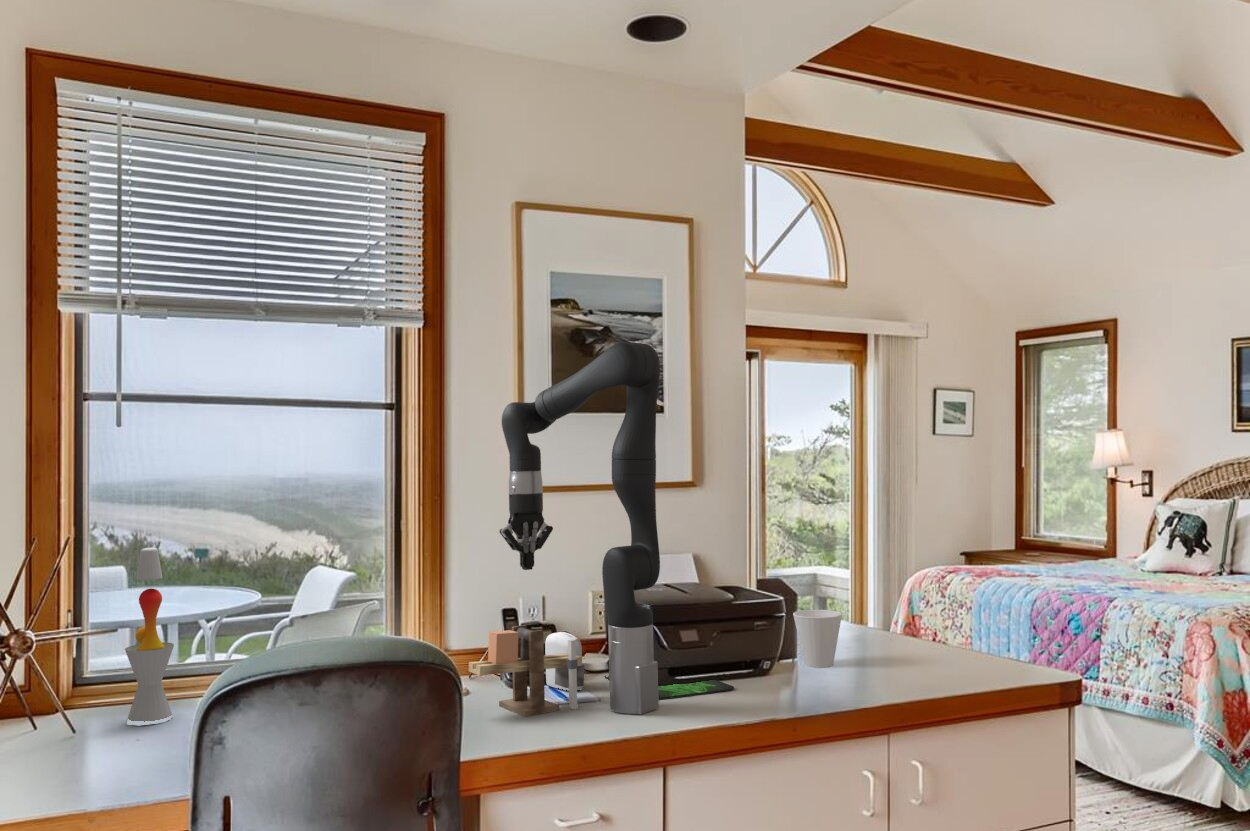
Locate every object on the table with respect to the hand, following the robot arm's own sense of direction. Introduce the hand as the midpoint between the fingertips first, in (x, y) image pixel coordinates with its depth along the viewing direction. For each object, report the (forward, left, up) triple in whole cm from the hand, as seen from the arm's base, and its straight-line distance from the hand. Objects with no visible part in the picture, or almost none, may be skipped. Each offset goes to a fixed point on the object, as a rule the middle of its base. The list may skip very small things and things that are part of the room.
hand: (527, 569), depth 220 cm
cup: (-39, -60, -27) cm, 76 cm away
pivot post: (-10, +10, -27) cm, 30 cm away
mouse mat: (-20, -24, -28) cm, 42 cm away
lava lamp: (+47, +62, -27) cm, 82 cm away
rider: (-8, +16, -17) cm, 24 cm away
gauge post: (-18, +5, -27) cm, 33 cm away
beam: (-10, +10, -23) cm, 27 cm away
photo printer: (-4, -7, -27) cm, 28 cm away
